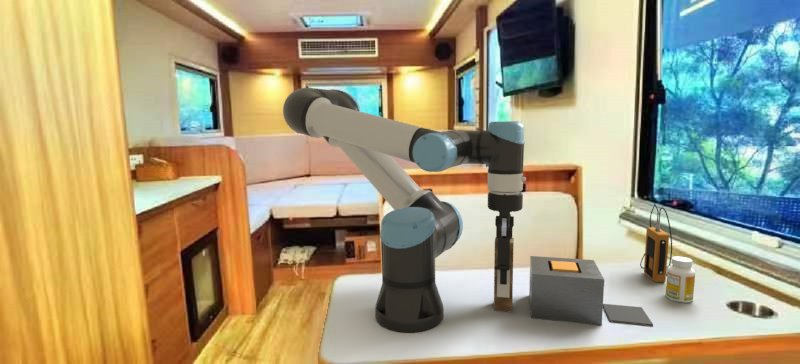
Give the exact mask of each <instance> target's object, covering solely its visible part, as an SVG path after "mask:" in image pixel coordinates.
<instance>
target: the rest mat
mask: <svg viewBox="0 0 800 364" xmlns="http://www.w3.org/2000/svg"><path fill="white" fill-rule="evenodd" d="M603 310H604V312H605V313H606V316H607V318H608V320H609V322H611V323H618V324H627V325H628V324H629V325H638V326H639V325H640V326H646V327H647V326H648V327H649V326H650V327H654V324H653V321H652V320H651V319H650V317H649V316H648V314H647V313H646V311H645V310H644V309H643V307H642V306H632V305H622V304H621V305H620V304H612V303H609V304H608V303H603Z"/></svg>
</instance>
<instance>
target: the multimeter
mask: <svg viewBox="0 0 800 364" xmlns="http://www.w3.org/2000/svg"><path fill="white" fill-rule="evenodd" d="M655 208H656V211H657V213H656V215H657V218H656V222H655V223H656V224H655V226H654V227H652V223H651V221H652V220H651V219H652V214H653V211H654V209H655ZM662 209H663V211H664V213H665V216H666V218H667V219H666V220H667V223H668V227H669V233H668V232H666V231H664V230H662V229H661V225H660V224H661V210H662ZM645 235H646V236H645V247H644V248H645V249H644V250H645V251H644V254H643V256H642V258H641V260H640V264H639V266H640V268H641V269H643V273H644V274H645V275H646V276H647V277H648V278H650V280H651V281H652V282H653V283H665V282H667V269H668V267H669V266H671V265H672V257H673V256H672V254H673V239H672V238H673V237H672V228H671V225H670V219H669V215H668V213H667V211H666V209H665V208H664V207H660V208H658V207H657V205H656V203H654V204H653V207H652V209H651V211H650V215H649V226H648V227H646V234H645ZM669 239H670V240H669ZM669 243H670V255H669V264H668V254H669V252H668V251H669ZM643 260H644V263H643ZM642 263H643V266H642ZM667 266H668V267H667Z"/></svg>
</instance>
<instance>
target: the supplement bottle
mask: <svg viewBox="0 0 800 364" xmlns="http://www.w3.org/2000/svg"><path fill="white" fill-rule="evenodd" d="M692 267H693V259H691V258H689V257H687V256H686V257H684V256H679V255H678V256H677V255H676V256H672V257H671V264H670V266H669V265H668V267H667V269H666V275H667V276H666V285H665V287H666V288H665V296H666V297H667V299H669V300H672V301H673V302H677V303H687V304H688V303H691V302H693V300H694V292H695V291H694V290H695V282H696V281H695V279H696V271H695V269H694V268H692Z"/></svg>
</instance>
